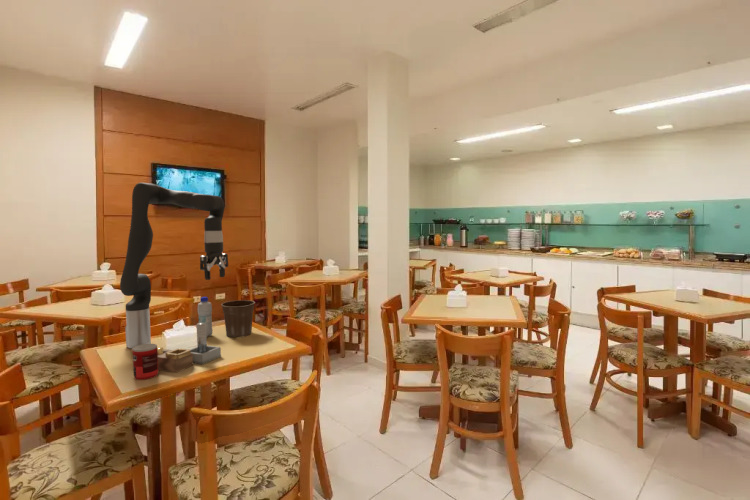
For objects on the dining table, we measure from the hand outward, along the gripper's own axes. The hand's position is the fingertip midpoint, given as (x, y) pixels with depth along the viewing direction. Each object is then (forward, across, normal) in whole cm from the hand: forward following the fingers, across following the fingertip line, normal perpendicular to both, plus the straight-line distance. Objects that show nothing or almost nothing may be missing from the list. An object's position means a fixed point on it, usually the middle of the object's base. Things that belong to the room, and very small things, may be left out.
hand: (215, 278), depth 169 cm
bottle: (+32, -16, -22) cm, 42 cm away
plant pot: (+32, -24, -8) cm, 41 cm away
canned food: (+32, +32, -4) cm, 46 cm away
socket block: (+32, +22, -4) cm, 39 cm away
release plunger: (+31, +22, -9) cm, 39 cm away
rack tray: (+32, +11, +2) cm, 34 cm away
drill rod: (+31, +11, +2) cm, 33 cm away
